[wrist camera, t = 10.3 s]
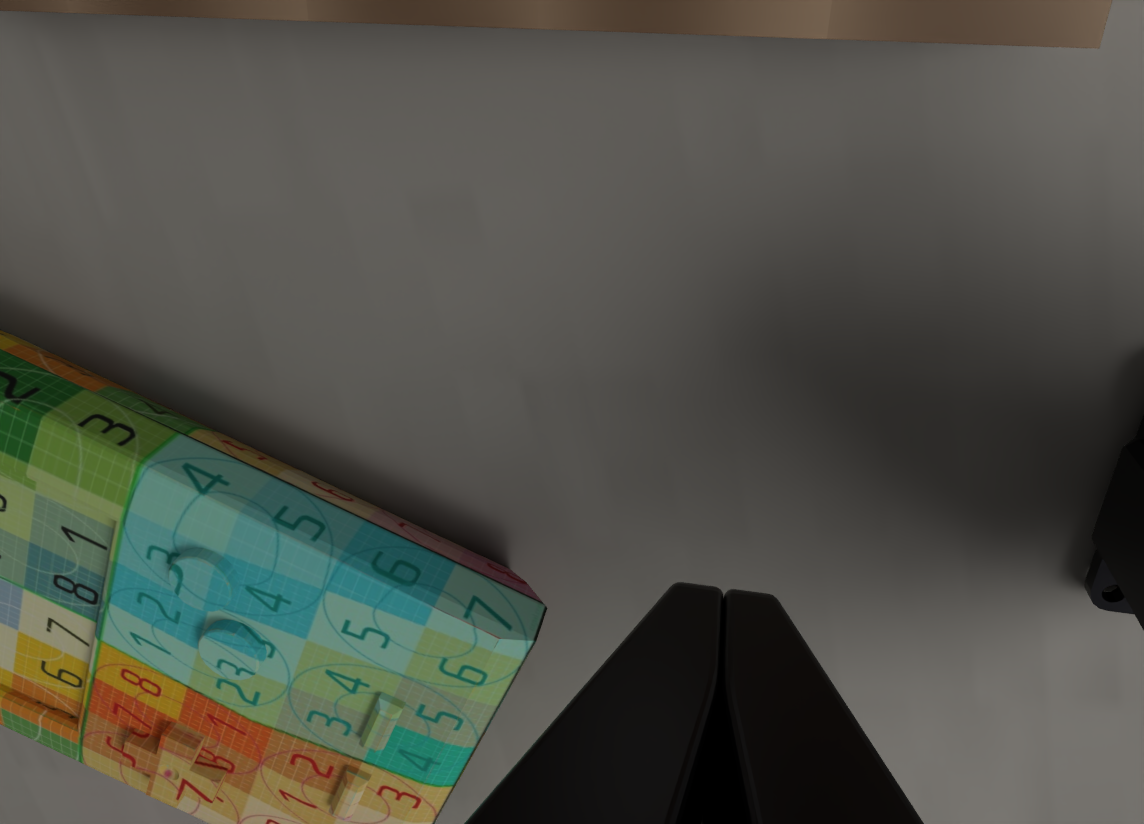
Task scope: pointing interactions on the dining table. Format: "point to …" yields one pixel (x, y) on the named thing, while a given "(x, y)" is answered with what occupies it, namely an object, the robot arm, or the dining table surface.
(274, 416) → the dining table surface
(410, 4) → the button board
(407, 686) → the puzzle game
